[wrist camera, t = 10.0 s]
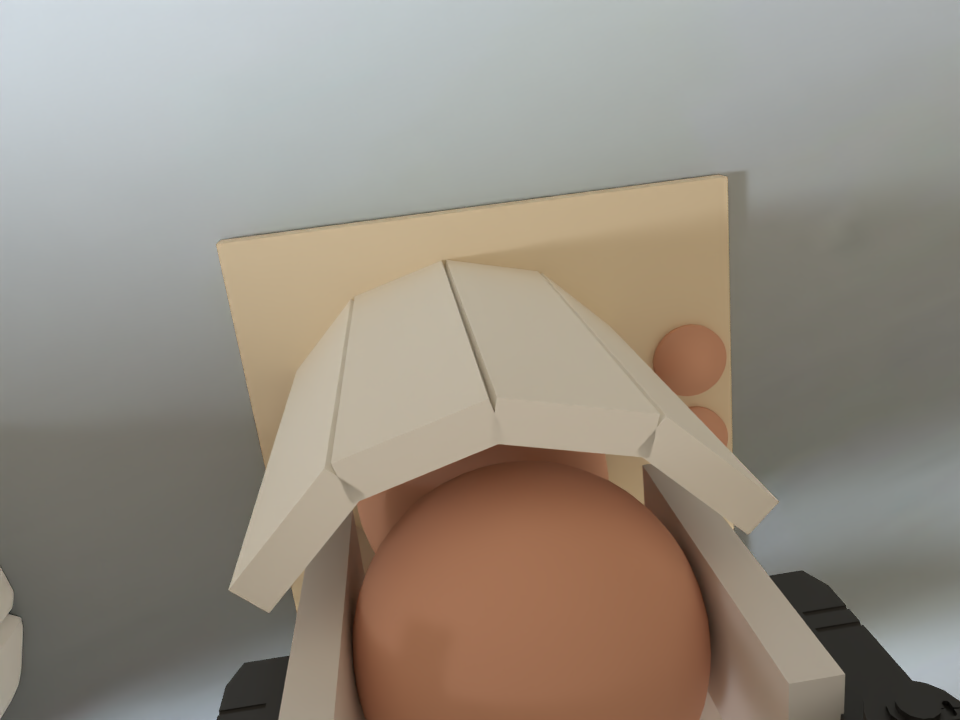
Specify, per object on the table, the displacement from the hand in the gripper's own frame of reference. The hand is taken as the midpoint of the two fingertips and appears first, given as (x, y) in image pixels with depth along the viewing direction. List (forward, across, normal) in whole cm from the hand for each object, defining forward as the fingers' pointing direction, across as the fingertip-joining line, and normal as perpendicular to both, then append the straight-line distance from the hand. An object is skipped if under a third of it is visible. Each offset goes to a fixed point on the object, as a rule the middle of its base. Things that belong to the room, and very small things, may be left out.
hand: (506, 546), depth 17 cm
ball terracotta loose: (0, 0, 0) cm, 0 cm away
